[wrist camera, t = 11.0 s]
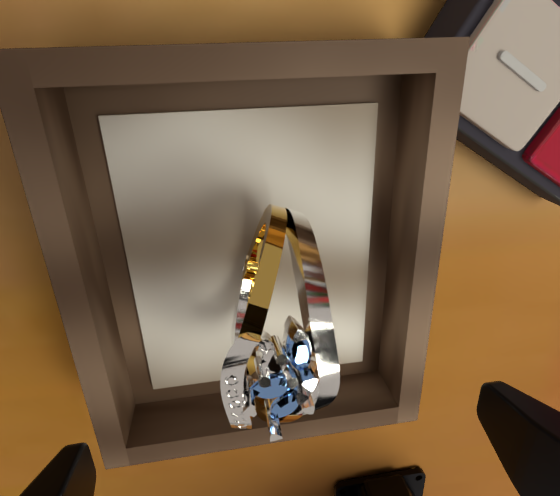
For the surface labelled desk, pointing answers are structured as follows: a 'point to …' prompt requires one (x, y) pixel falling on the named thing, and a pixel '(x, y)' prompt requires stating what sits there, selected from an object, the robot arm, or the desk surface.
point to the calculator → (510, 86)
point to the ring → (296, 339)
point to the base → (234, 217)
